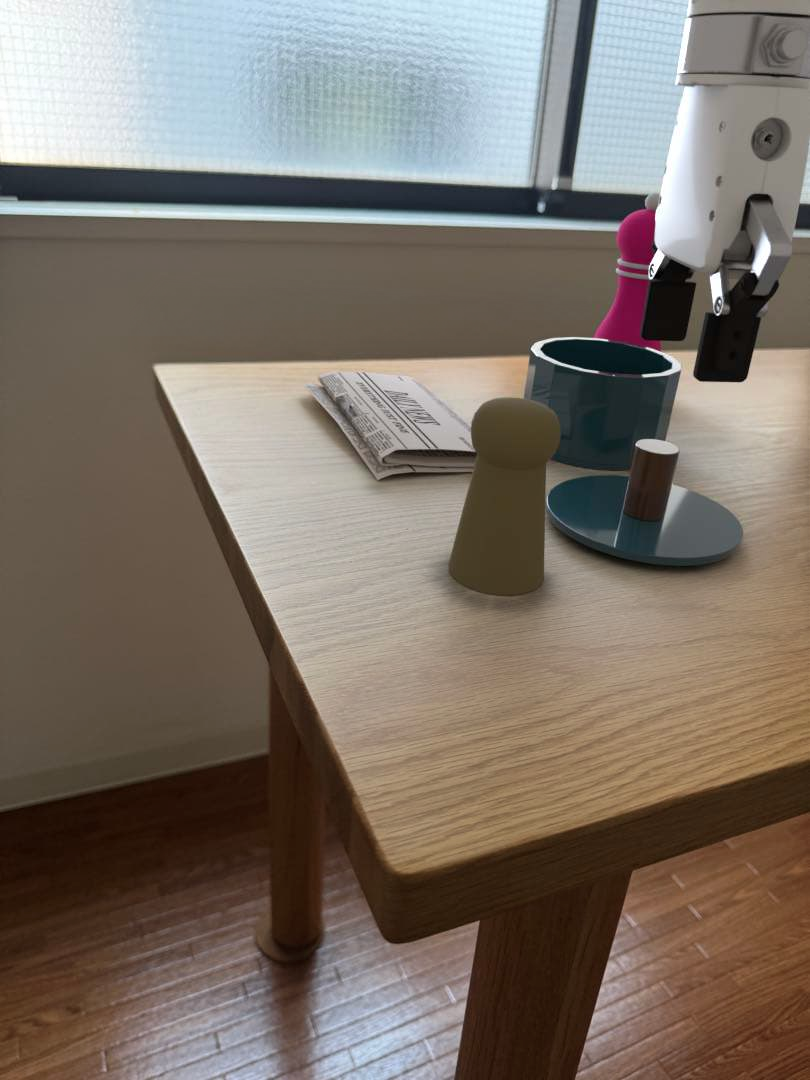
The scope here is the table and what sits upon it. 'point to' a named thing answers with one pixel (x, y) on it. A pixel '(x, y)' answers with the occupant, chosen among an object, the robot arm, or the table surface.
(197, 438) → the table surface
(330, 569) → the table surface
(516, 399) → the olive brown pawn
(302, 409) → the table surface
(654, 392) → the tin
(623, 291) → the pepper mill
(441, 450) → the newspaper
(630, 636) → the table surface
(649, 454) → the tin lid
